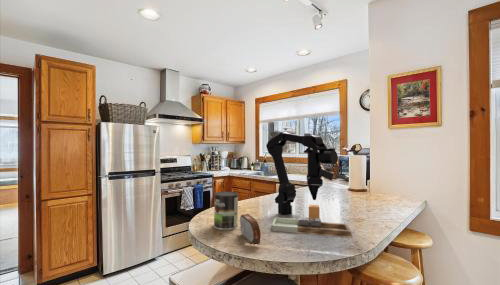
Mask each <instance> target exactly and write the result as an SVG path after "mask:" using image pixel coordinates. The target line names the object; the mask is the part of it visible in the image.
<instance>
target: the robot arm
mask: <svg viewBox="0 0 500 285" xmlns="http://www.w3.org/2000/svg"><path fill="white" fill-rule="evenodd" d="M287 142H291V143H292V142H293V143H297V144H301V145H302V146H304V147H306V148H305V150H304V151H303V153H304V154H307V166H306V167H307V174H306V184H307V187H308V190H309V193H310V195H311V198H312V200H313V201H316V200H317V197H318V196H317V195H318V191H319V189H320V188H321V187H322V186H323V185H324V184H323V183H324V182H323V181H324V180H323V179H322V178H325V179H327V180H329V181H333V178H334V176H335V173H333V172H331V169H330V168H325V169H323V168H322V166H321V164H323V165H336V164H337V163H338V161H339V155H338V153H337V151H336V148H335V147H331V148H328V147H327V146H326V144H325V143H324V141H323V138H322V137H321V136H320V135H300V134H296V133H295V134H294V133H289V132H286V131H285V132H284V131H281V132H279V133H278V134H277V135H276V136H274V137H272V138H271V139H270V140H268V142H266V145H265V146H266V150H267V151H268V154H269V156H271V157H272V160H273V164H274V168H275V171H276V176H277V180H278V183H279V185H278V188H277V191H278V194H277V196H276V197H275V198H274V202H275V203H276V204H277V215H281V216H290V215H293V205H292V203H294V201H295V199H296V197H297V190H296V186H295V184H294V183H291V182H290V180H289V177H288V173H287V169H286V165H285V162H284V159H283V152H284V147H285V146H286V145H287V144H286V143H287Z"/></svg>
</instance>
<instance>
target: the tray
mask: <svg viewBox="0 0 500 285" xmlns="http://www.w3.org/2000/svg"><path fill="white" fill-rule="evenodd" d="M298 220H299V218H287V217H278V216H277V217H274V218H273V222H272V224H271V225H270V226H271V231H273V232H285V233H295V234H299V233H298V227H297V226H298Z"/></svg>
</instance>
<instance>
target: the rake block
mask: <svg viewBox="0 0 500 285" xmlns="http://www.w3.org/2000/svg"><path fill="white" fill-rule="evenodd" d="M308 218H309V221H310V218H320V205H319V204H308Z"/></svg>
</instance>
